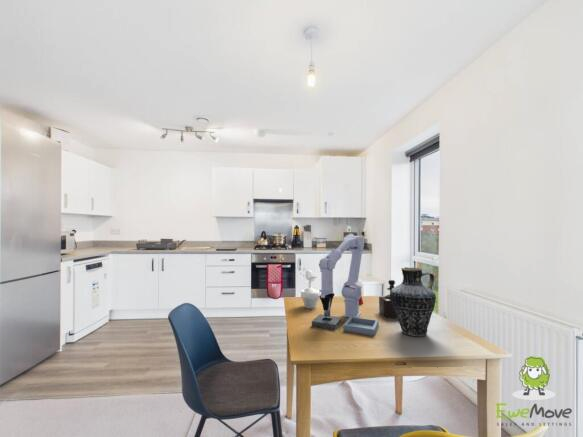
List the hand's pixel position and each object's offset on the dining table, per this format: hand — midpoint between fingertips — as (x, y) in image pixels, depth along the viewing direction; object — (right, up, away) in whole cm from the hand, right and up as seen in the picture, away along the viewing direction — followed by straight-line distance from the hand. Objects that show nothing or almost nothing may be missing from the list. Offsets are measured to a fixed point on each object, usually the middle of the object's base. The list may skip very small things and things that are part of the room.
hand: (327, 308), depth 147 cm
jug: (+39, -8, -11) cm, 41 cm away
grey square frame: (0, -8, 0) cm, 8 cm away
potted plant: (-7, -8, +29) cm, 31 cm away
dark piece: (+37, -8, +17) cm, 42 cm away
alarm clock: (+22, -9, +41) cm, 48 cm away
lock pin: (0, -3, 0) cm, 3 cm away
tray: (+16, -8, -6) cm, 19 cm away
